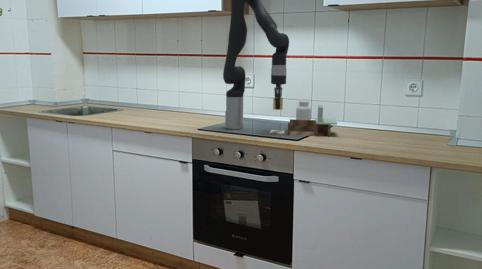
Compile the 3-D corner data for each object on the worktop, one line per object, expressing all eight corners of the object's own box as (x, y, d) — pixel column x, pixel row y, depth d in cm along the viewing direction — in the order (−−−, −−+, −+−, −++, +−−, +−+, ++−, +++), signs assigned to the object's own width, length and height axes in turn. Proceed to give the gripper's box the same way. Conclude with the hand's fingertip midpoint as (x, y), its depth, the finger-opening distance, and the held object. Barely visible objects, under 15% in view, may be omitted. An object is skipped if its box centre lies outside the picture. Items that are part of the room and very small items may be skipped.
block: (282, 109, 224) (282, 98, 223) (273, 109, 225) (273, 98, 224) (282, 108, 229) (282, 97, 228) (273, 108, 229) (273, 97, 228)
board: (268, 136, 223) (268, 122, 222) (270, 131, 236) (270, 118, 235) (330, 138, 219) (330, 124, 218) (328, 134, 232) (329, 120, 231)
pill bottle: (299, 127, 252) (300, 100, 250) (312, 128, 248) (313, 101, 246) (293, 129, 246) (294, 101, 243) (307, 130, 242) (308, 102, 239)
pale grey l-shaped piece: (316, 124, 219) (316, 108, 218) (315, 120, 232) (316, 104, 230) (337, 124, 218) (337, 108, 216) (335, 120, 230) (336, 105, 229)
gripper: (285, 75, 216) (284, 110, 219) (286, 73, 230) (285, 107, 233) (270, 75, 217) (269, 110, 220) (272, 73, 231) (271, 106, 234)
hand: (277, 108), depth 227 cm, fingers closed on block, 4 cm apart
